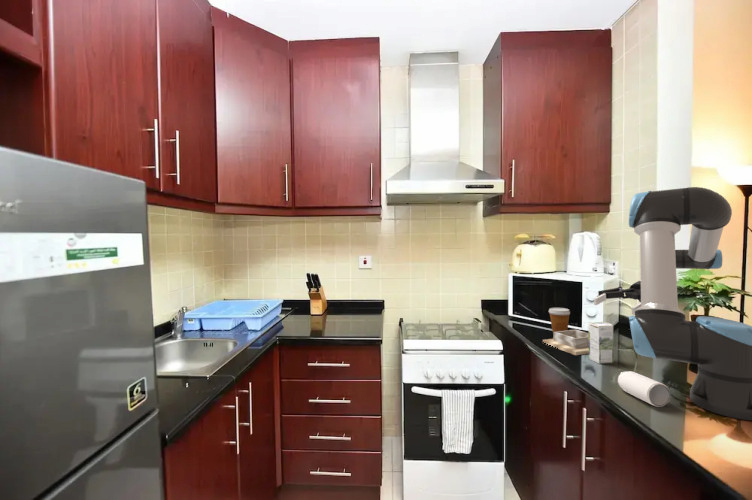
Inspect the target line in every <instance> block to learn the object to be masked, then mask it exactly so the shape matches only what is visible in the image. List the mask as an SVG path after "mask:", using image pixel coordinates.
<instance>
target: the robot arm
mask: <svg viewBox="0 0 752 500" xmlns="http://www.w3.org/2000/svg"><path fill="white" fill-rule="evenodd" d="M629 207H630V208H629V211H628V212H629V215H628V226H629V227H630V228H632V229H633V230H634V233H635V234H636V235H638V236H639V248H640V249H639V252H640V253H639V254H640V256H639V257H640V258H639V260H640V261H639V263H640V265H639V266H640V267H639V268H640V279H639V280H638V281H636V282H634V283H632V284H630V286H629V288H623V287H622V286H617V287H614V288H609V289H603V290H599V291H598V292H597V293H598V295H597V296H596V297H594V298H593V305H594V306H598V305H600V304H601V303H604V302H605V301H607V300H609V299H619V298H620V299H632V300H634V301H635V300H636V301H637V300H638V301H639V303H637V304H635V305H634V306H632V307H631V314H632V315H630V316H629V317H628V319H629V327H630V333H631V338H632V344H633V350H634V351H635V354H637V355H639V356H642V357H646V358H652V359H655V360H657V359H660V360H664V361H673V362H679V363H680V362H681V363H688V364H693V365H694V364H695V365H697V374H696V376H695V378H694V381H693V384H692V385H691V388H690V390H689V399H690V401H691V402H692V404H694V405H695V406H697V407H699V408H701V409H703V410H705V411H709V412H711V413H714V414H717V415H721V416H725V417H729V418H733V419H738V420H745V421H752V325H749V324H748V323H744V322H741V321H737V320H732V319H727V318H723V317H715V316H706V315H704V316H703V315H699V316H697V317H696V319H695V321H694V320H693V321H691V320H686V313H684V312H683V311H682V310H680V309H679V306H678V304H679V301H678V285H677V284H678V282H677V278H678V277H677V269H682V270H683V269H688V270H690V269H691V270H713V269H714V270H715V269H716V270H718V269H721V268H722V266H723V254H722V251H721V249H718V248H719V245H720V241H721V237H722V234H723V230H724V227H726V226H727V225H728V224H729V223H730V221H731V219H732V215H733V214H732V212H733V211H732V207H731V204H730V203H729V201H728V200H727V199H726V198H725V197H724V196H723V195H721V194H720V193H718V192H717V191H714V190H711V189H710V188H705V187H700V186H699V187H698V186H693V187H692V186H689V187H683V188H681V187H680V188H672V189H671V188H670V189H662V190H653V191H652V190H647V191H645V192H638V193H636V194H634V195H633V196H632V198H631V202H630V206H629ZM684 225H685V226H686V225H691V228H690V229H691V231H690V237H689V245H688V249H676V237H675V235H676V234H677V233H679V232H680V231H681V230H682V227H681V226H684Z"/></svg>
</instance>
